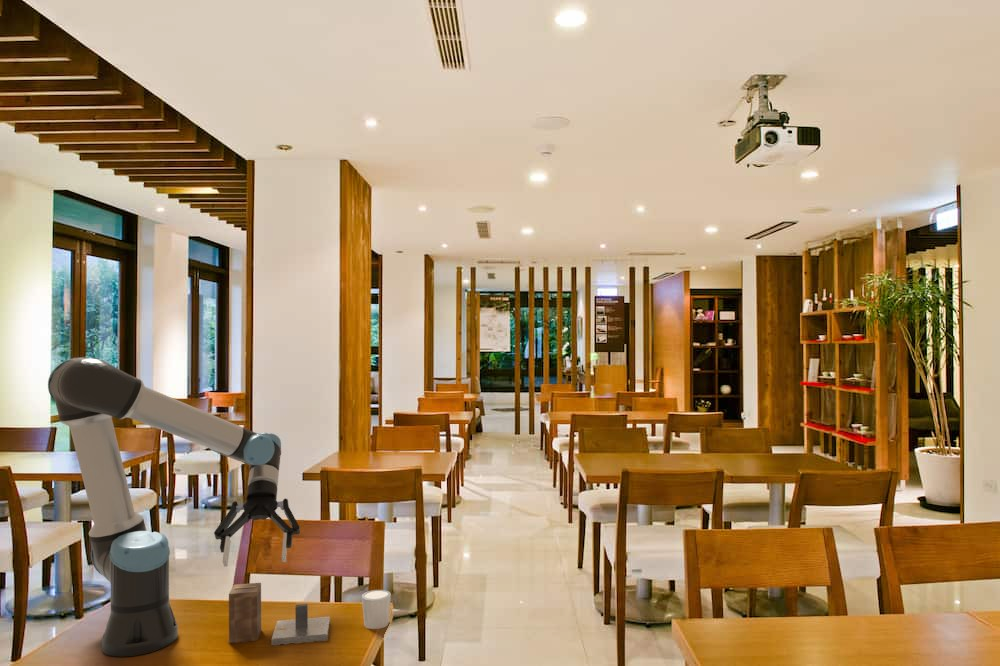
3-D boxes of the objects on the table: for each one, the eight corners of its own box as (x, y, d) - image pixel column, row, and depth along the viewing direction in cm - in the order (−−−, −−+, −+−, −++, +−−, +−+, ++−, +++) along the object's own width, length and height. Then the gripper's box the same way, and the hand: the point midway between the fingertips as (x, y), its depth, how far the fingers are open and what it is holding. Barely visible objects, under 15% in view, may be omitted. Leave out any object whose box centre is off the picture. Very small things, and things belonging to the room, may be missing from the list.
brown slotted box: (229, 643, 153) (228, 593, 153) (234, 632, 159) (233, 583, 159) (257, 641, 154) (256, 590, 154) (261, 630, 160) (261, 581, 160)
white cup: (384, 631, 159) (384, 600, 159) (357, 629, 160) (356, 598, 160) (395, 619, 165) (395, 590, 166) (368, 617, 167) (368, 588, 167)
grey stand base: (271, 645, 152) (271, 616, 152) (277, 627, 161) (277, 599, 162) (327, 640, 154) (327, 611, 154) (329, 622, 164) (329, 595, 164)
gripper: (312, 491, 187) (308, 565, 172) (214, 496, 182) (202, 572, 167) (310, 476, 181) (306, 550, 167) (210, 481, 176) (197, 557, 162)
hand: (254, 561), depth 167 cm, fingers open, 13 cm apart
